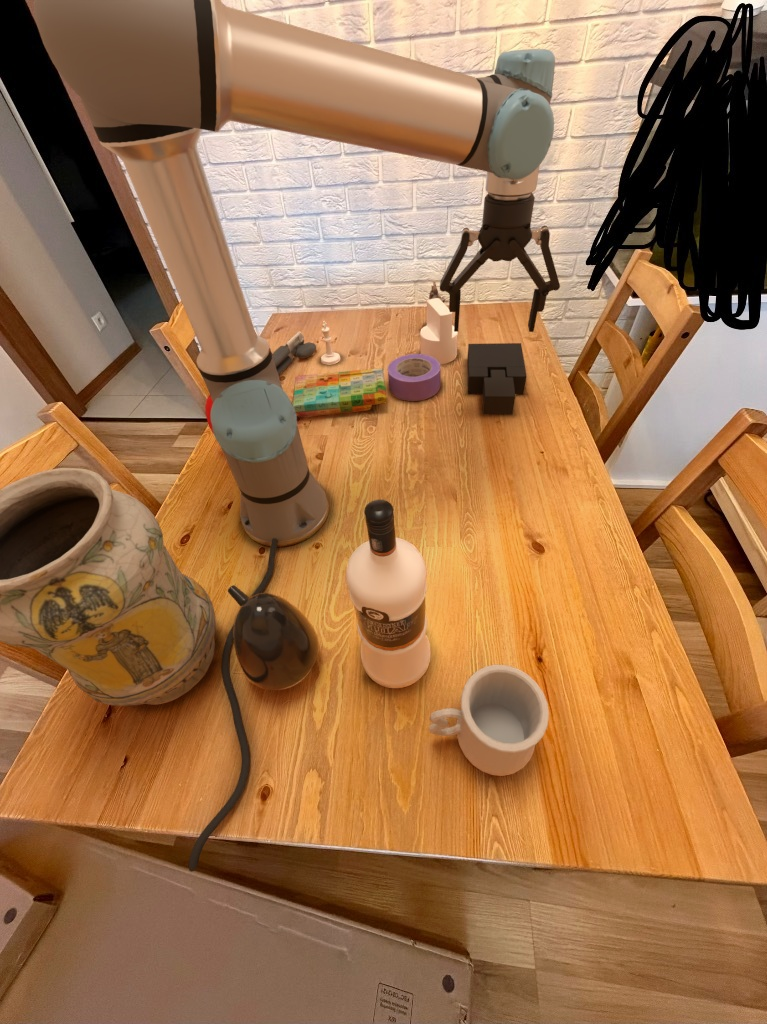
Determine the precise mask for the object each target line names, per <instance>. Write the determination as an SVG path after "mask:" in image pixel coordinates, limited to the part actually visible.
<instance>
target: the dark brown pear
mask: <svg viewBox="0 0 767 1024" xmlns="http://www.w3.org/2000/svg"><path fill="white" fill-rule="evenodd" d="M227 592H228V594H229V595H230V596H231V597H232V599H233V600H234V601H235V602H236V603H237V604H238V606H240V607H239V609H238V610H237V612H236V614H235V617H234V622H233V624H234V640H233V644H234V651H235V655H236V659H237V662H238V665H239V667H240V669H241V672H242V673H243V675H244V676H245V678H246V680H248V682H250V683H251V684H252V685H254V686H255V687H257V688H260V689H263V690H268V691H281V690H286V689H290V688H292V687H294V686H296V685H298V684H299V683H301V682H302V681H303V680H304V679H305V678H306V677H307V676H308V675H309V674H310V672H311V671H312V669H313V667H314V665H315V663H316V661H317V658H318V655H319V647H320V644H319V643H320V642H319V638H318V635H317V632H316V629H315V627H314V626H313V625H312V623H311V621H310V620H309V619H308V617H306V615H305V614H304V613H303V612H302V611H301V610H300V609H299V608H298V607H296V606H295V605H294V604H293V603H291V602H290V601H289V600H287V599H285V598H284V597H282V596H279V595H277V594H273V593H269V592H266V593H265V592H262V593H261V594H257V595H254V596H252V597H250V596H248V595H247V594H246V593H245V592H244V591H242V590H241V589H240V588H239V587H238V586H236V585H231V586H229V587H228V589H227Z"/></svg>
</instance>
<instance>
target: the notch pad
mask: <svg viewBox="0 0 767 1024" xmlns="http://www.w3.org/2000/svg"><path fill="white" fill-rule="evenodd" d="M522 346H523V345H522V342H513V343H512V342H511V343H510V342H508V343H507V342H504V343H503V342H500V343H497V342H496V343H468V346H467V358H466V360H467V361H466V363H467V365H466V366H467V367H466V368H467V371H466V372H467V375H466V377H467V395H482V393H483V383H484V377H490V371H491V370H505V376H506V377H513V382H514V389H515V395H524V394H525V387H526V383H527V377H528V375H527V370H526V365H525V358H524V353H523V347H522Z"/></svg>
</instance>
